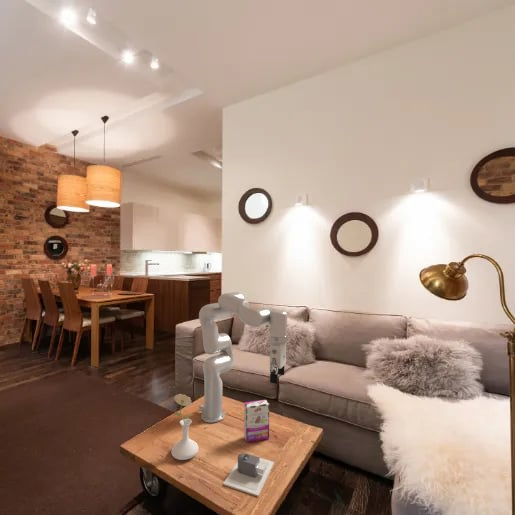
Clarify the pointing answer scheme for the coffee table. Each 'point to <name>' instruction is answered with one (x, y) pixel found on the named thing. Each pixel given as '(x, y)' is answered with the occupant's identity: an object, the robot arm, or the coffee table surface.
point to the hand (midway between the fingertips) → (277, 378)
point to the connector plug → (250, 465)
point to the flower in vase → (184, 433)
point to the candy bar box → (256, 420)
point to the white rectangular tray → (248, 479)
